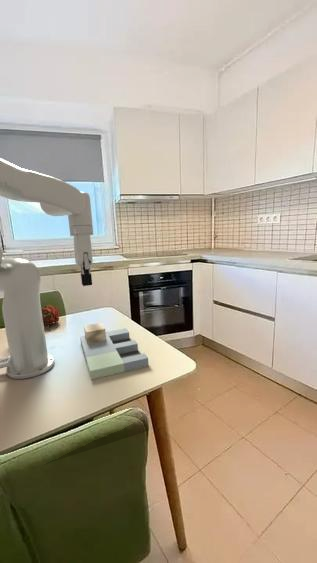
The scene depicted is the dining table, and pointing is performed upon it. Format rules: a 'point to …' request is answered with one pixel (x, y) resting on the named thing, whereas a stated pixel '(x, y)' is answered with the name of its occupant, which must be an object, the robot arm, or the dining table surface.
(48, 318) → the dragon fruit
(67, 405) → the dining table surface
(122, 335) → the board
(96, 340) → the block
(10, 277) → the robot arm
